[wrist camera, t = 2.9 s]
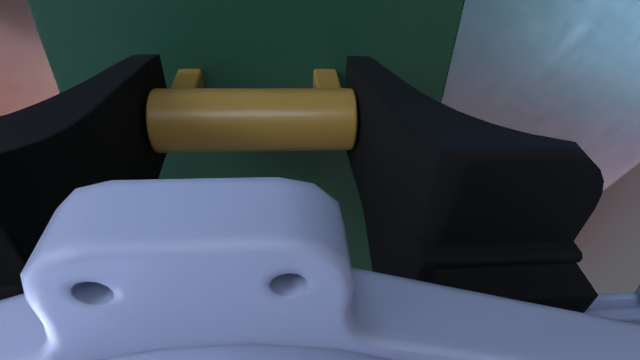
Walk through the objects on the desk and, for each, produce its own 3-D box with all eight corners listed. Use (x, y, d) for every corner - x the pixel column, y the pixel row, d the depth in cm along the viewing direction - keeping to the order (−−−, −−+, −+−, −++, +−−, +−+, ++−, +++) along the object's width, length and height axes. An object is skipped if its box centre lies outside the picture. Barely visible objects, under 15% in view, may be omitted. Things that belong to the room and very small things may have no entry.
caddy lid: (397, 268, 20) (421, 348, 16) (134, 279, 19) (105, 367, 15) (476, -91, 11) (558, -73, 8) (2, -109, 10) (-129, -98, 7)
